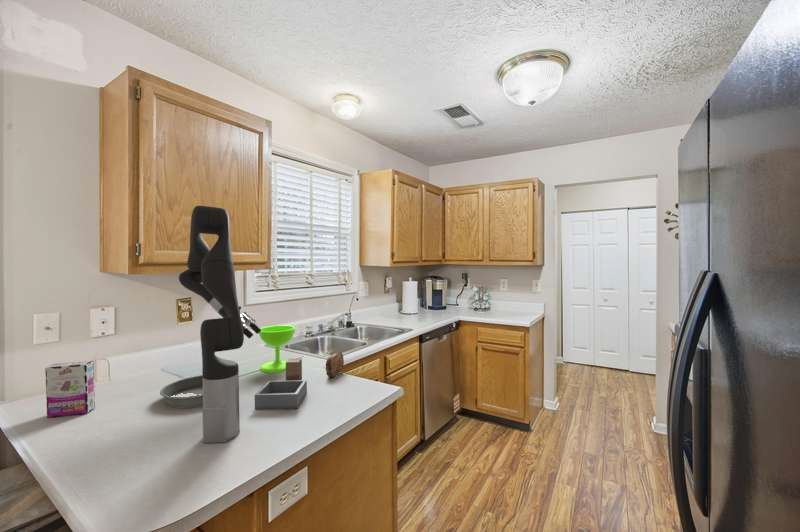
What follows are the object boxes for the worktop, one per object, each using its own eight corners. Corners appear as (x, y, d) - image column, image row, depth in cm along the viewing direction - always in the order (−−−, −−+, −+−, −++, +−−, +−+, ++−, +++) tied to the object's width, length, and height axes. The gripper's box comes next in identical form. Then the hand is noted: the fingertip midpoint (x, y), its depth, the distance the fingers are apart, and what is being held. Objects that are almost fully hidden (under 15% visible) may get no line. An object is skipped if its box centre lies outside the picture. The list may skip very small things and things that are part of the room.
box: (297, 409, 121) (297, 394, 121) (254, 410, 121) (254, 395, 120) (306, 393, 135) (306, 380, 135) (268, 394, 135) (268, 380, 134)
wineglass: (258, 365, 172) (257, 327, 172) (292, 360, 179) (292, 324, 179) (260, 374, 158) (259, 333, 157) (298, 369, 164) (297, 330, 164)
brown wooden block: (299, 387, 141) (298, 362, 141) (286, 387, 141) (285, 362, 141) (302, 383, 146) (301, 358, 146) (289, 383, 146) (289, 358, 146)
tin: (331, 379, 150) (331, 359, 150) (324, 379, 151) (324, 359, 151) (344, 368, 165) (344, 350, 165) (337, 368, 166) (337, 350, 166)
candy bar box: (96, 408, 124) (94, 360, 123) (87, 414, 119) (86, 364, 119) (56, 412, 121) (54, 363, 120) (45, 418, 116) (44, 367, 116)
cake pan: (164, 391, 139) (164, 380, 139) (234, 381, 150) (234, 370, 150) (155, 416, 117) (155, 402, 117) (238, 401, 129) (238, 389, 128)
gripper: (224, 301, 135) (255, 331, 136) (239, 296, 149) (268, 324, 150) (209, 315, 135) (241, 345, 136) (226, 309, 149) (255, 337, 150)
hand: (255, 334), depth 143 cm, fingers open, 8 cm apart
